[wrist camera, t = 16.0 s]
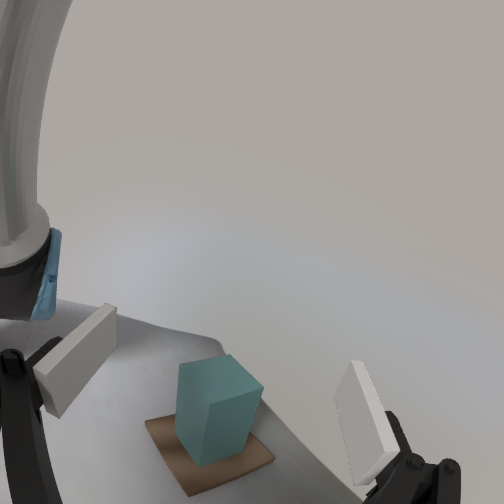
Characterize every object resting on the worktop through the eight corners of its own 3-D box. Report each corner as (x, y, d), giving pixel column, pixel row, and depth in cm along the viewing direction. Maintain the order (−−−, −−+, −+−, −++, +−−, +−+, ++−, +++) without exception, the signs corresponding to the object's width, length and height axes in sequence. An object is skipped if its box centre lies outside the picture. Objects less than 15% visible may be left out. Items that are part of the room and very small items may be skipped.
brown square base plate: (145, 425, 31) (143, 376, 28) (221, 405, 38) (231, 359, 36) (188, 496, 22) (193, 458, 20) (273, 461, 29) (293, 417, 27)
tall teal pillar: (174, 432, 30) (179, 364, 27) (216, 420, 34) (229, 354, 31) (198, 467, 25) (209, 404, 23) (242, 451, 29) (263, 387, 26)
